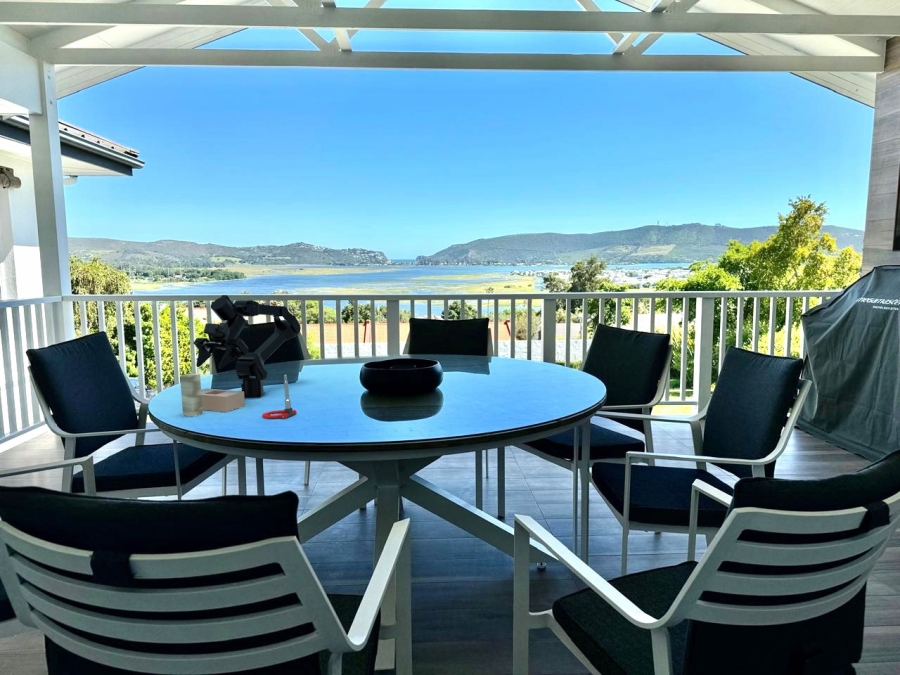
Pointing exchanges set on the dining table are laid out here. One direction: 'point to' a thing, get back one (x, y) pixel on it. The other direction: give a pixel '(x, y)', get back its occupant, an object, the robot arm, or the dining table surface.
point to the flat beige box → (222, 400)
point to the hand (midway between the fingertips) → (208, 367)
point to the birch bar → (191, 394)
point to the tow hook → (288, 409)
